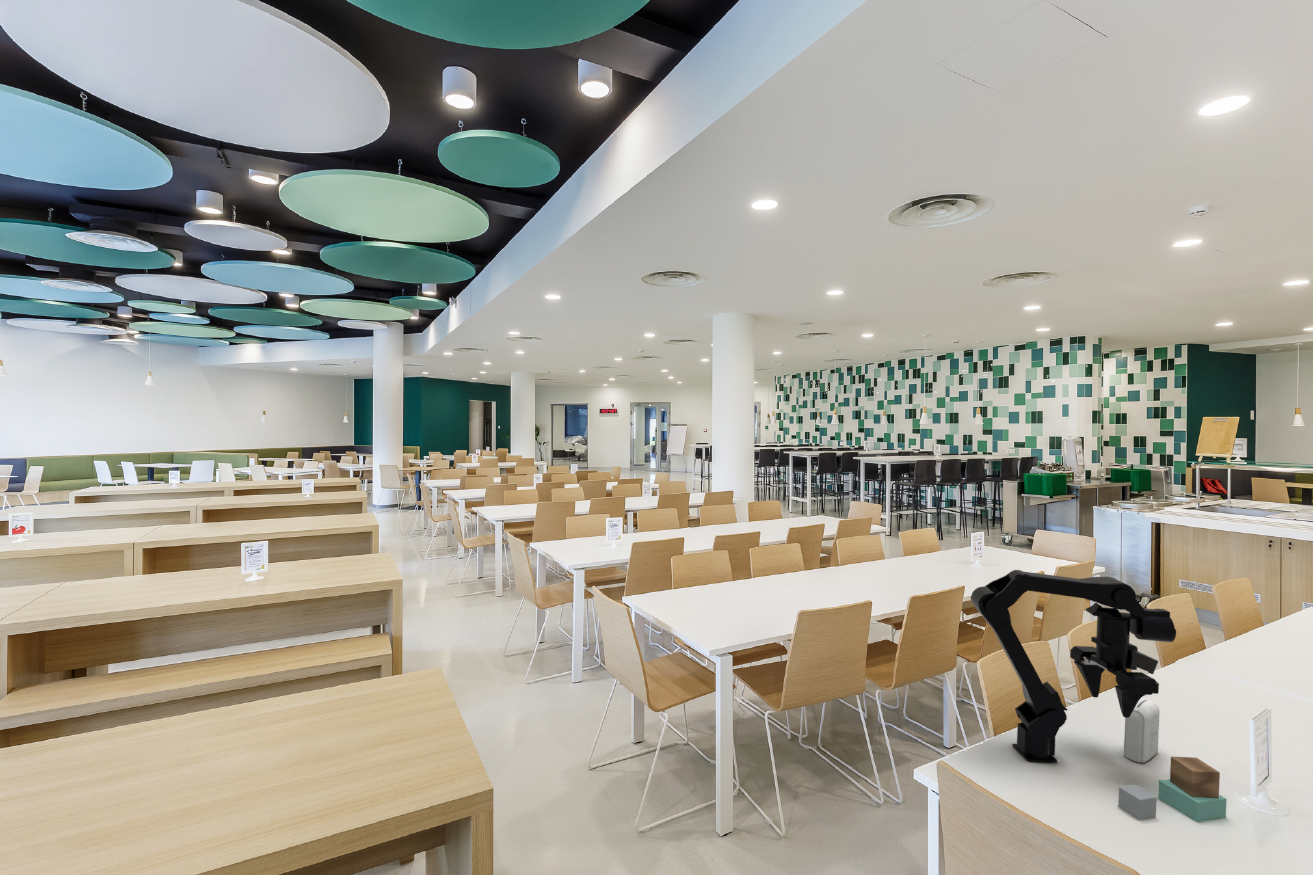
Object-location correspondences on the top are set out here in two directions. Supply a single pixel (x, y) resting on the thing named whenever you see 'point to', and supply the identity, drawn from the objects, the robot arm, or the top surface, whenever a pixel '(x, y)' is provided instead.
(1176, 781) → the walnut cube
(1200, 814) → the teal base block
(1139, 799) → the slate block
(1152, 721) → the photo printer
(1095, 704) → the top surface
